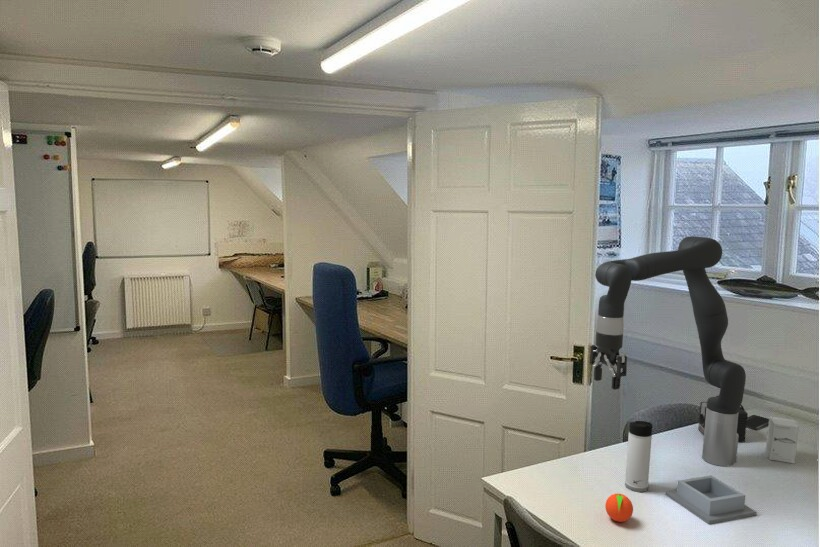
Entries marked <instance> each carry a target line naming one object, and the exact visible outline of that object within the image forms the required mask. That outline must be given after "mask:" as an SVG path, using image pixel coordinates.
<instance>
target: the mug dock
mask: <svg viewBox="0 0 820 547" xmlns="http://www.w3.org/2000/svg"><path fill="white" fill-rule="evenodd" d="M676 484H677V485H676V489H673V490H666V491H665V493H664V495H665V496H666V497H668V498H669V499H671V500H672V501H673V502H676V503H677V504H678V505H680V506H681V507H682V508H684V509H686V510H687V511H688V512H690V513H692V514H693V515H694V516H696V517H697V518H699V519H700V520H702V521H703V522H705V523H706V524H707V525H712V524H717V523H722V522H728V521H734V520H739V519H743V518H749V517H754V516H757V510H754V509H752V508H751V507H749V506H747V505H746V504H745V502H746V494H744V493H742V492H741V491H739V490H737V489H735V488H734V487H732V486H730V485H728V484H727V483H725V482H723V481H722V480H719V479H718V478H717V477H715V476H713V475H712V474H711V475H705V476H700V477H691V478H687V479H679V480H677V483H676Z"/></svg>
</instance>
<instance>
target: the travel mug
mask: <svg viewBox="0 0 820 547" xmlns="http://www.w3.org/2000/svg"><path fill="white" fill-rule="evenodd" d="M628 426H629V429H628V436H627V437H628V440H627V449H626V450H627V452H626V468H625V481H624V486H625V487H626V488H627V489H628V490H630V491H632V490H633V492H636V491H637V493H638V492H639V493H641V492H642V493H643V492H646V491H647V490H648V488H649V474H650V464H651V453H652V452H651V451H652V450H651V449H652V439H653V437H652V436H653V433H652V432H653V423H652V422H649V421H644V420H643V421H642V420H636V421H630V422H629V425H628Z"/></svg>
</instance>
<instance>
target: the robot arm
mask: <svg viewBox="0 0 820 547" xmlns="http://www.w3.org/2000/svg"><path fill="white" fill-rule="evenodd" d="M722 256H723V248H722V245H721V244H720V242H719V241H717V240H715V239H714V238H710V237H707V236H706V237H703V236H692V235H690V236H686V237H683V238H682V239H681V240H680V242H679V245H678V248H677V250H669V251H658V252H657V251H656V252H652V253H646V254H643V255H642V254H641V255H638V256H634V257H631V258H625V259H623V258H622V259H615V260H609V261H606V262H603V263H601V264H600V265H599V266H598V267H596V269H595V279H596V281H597V282H598V283H599V284H600V285H602V286H604V287H607V288H608V290H607V294H603V295H602V296H600V297H599V300H598V313H597V314H598V315H597V319H596V330H595V331H596V332H595V344H592V345H591V346H590V354H589V364H590V365H592V367H593V380H594V381H596V382H598V381H601V380H602V376H603V375H602V374H603V366H604V365H605V366H607V368H608V370H609V371H610V372H611V375H612V378H611V389H612V390H620V387H621V379H622V377H627V367H628V365H627V364H628V357H627V355H621V354H620V350H621V349H622V348H623V343H624V342H623V339H624V328H625V324H624V316H625V315H624V313H625V303H626V299H627V297H628V293H629V291H630V288H631V284H632V282H638V281H644V280H648V279H651V278H655V277H658V276H662V275H665V274H671V273H675V272H676V273H677V272H680V271H681V272H682V273H683V274H684V278H685V282H686V284H687V289H688V294H689V297H690V302H691V306H692V312H693V316H694V320H695V326H696V329H697V334H698V340H699V344H700V352H701V363H702V364H701V365H702V371H703V376H704V379H705V381H706V382H707V383H708V384H710V385H711V386H713V387H716V388H718V389H719V394H718V395H719V396H718V395H716V396H717V397H716V396H711V397H709V398H708V399H707V401H706V402H707V407H706V419H705V430H704V435H703V440H702V442H703V443H702V453H701V454H702V455H701V458H702V459H703V460H704V461H705V462H707V463H709V464H711V465H715V466H720V467H731V466H733V465H734V464H735V463H737V458H738V445H739V442H738V438H739V435H738V433H737V424H738V413H739V407H741V406H740V405H742V403H743V400H744V392H745V387H746V380H747V379H746V378H747V376H746V371H745V368H744V367H743V366H742V365H741V364H738V363H736V362H733V361H731V360H727V359H725V357H724V355H723V350H722V340H723V337H724V335H725V334H726V332H727V329H728V326H729V317H728V312H727V307H726V303H725V301H724V299H723V298H722V296H721V294H720V293H719V291H718V290H717V288H716V287H715V286H714V285H713V283H712V281H711V280H710V278H709V276H708V274H707V271H706V269H708V268H713V267H715V266H716V265H718V263H719V262H720V261H721V259H722ZM594 358H595V359H594Z"/></svg>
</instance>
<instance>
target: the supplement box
mask: <svg viewBox="0 0 820 547" xmlns="http://www.w3.org/2000/svg"><path fill="white" fill-rule="evenodd" d="M768 419H769V425H768V426H767V434H766V436H767V437H766V445H765V452H766V456H767V458H768V459H769V460H770V461H776V462H782V463H783V462H785V463H789V464H795V463H796V458H797V457H796V455H797V448H798V446H797V445H798V438H799V432H800V426H799V425H798V424H797V422H796V420H795V419H789V418H784V417H782V418H781V417H777V416H769V418H768Z"/></svg>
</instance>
